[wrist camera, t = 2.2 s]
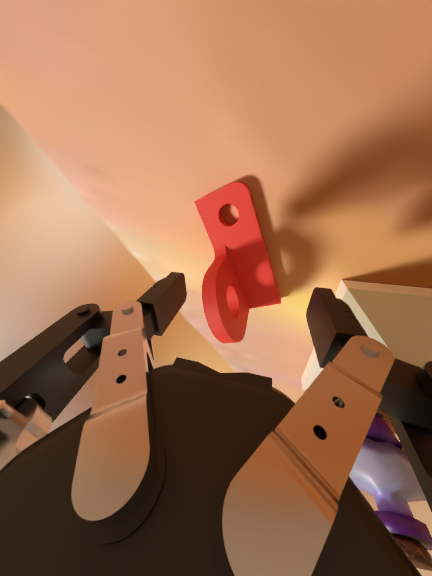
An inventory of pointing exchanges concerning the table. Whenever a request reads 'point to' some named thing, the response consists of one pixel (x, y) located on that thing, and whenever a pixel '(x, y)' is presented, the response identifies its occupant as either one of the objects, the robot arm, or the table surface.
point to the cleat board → (387, 321)
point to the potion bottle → (393, 490)
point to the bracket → (235, 264)
